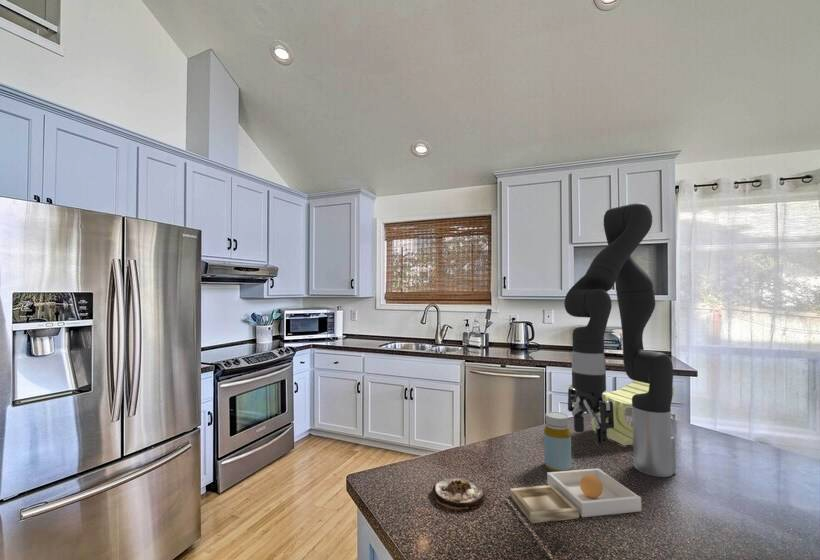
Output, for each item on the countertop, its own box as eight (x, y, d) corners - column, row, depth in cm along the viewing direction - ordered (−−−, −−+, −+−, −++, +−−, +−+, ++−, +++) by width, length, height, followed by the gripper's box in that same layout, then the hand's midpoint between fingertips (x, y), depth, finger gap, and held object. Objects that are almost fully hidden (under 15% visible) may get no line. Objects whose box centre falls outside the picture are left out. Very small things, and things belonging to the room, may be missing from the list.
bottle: (573, 475, 102) (572, 419, 102) (546, 473, 103) (545, 418, 104) (568, 464, 108) (567, 412, 109) (543, 462, 110) (542, 410, 110)
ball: (594, 490, 93) (593, 469, 93) (607, 501, 88) (607, 479, 88) (575, 492, 92) (575, 471, 92) (588, 503, 87) (587, 481, 87)
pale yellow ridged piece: (636, 424, 142) (634, 377, 143) (675, 439, 127) (673, 387, 128) (568, 431, 135) (567, 382, 136) (602, 449, 119) (600, 392, 120)
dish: (598, 481, 98) (598, 468, 98) (641, 513, 84) (641, 497, 84) (547, 486, 96) (547, 472, 96) (582, 519, 81) (582, 503, 82)
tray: (552, 494, 92) (551, 484, 92) (579, 520, 81) (578, 509, 81) (510, 498, 90) (510, 488, 90) (532, 525, 79) (531, 514, 79)
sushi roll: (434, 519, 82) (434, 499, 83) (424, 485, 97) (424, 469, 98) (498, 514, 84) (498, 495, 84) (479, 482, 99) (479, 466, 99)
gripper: (623, 376, 85) (624, 448, 84) (584, 364, 99) (585, 427, 98) (593, 376, 84) (594, 450, 83) (558, 365, 98) (559, 428, 97)
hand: (589, 437), depth 90 cm, fingers open, 8 cm apart
